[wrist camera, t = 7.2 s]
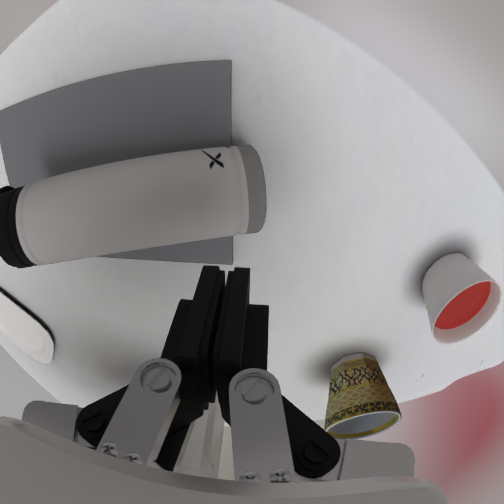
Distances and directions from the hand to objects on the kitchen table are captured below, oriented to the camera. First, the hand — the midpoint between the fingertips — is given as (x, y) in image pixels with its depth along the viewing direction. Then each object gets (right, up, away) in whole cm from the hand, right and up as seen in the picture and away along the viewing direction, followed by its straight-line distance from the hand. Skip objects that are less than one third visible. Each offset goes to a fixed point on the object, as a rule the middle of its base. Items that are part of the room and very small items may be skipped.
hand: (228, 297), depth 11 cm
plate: (-43, -12, +30) cm, 54 cm away
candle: (+23, -1, +17) cm, 29 cm away
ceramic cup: (+16, -16, +27) cm, 35 cm away
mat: (-14, +9, +13) cm, 21 cm away
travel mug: (+1, +6, +10) cm, 12 cm away
